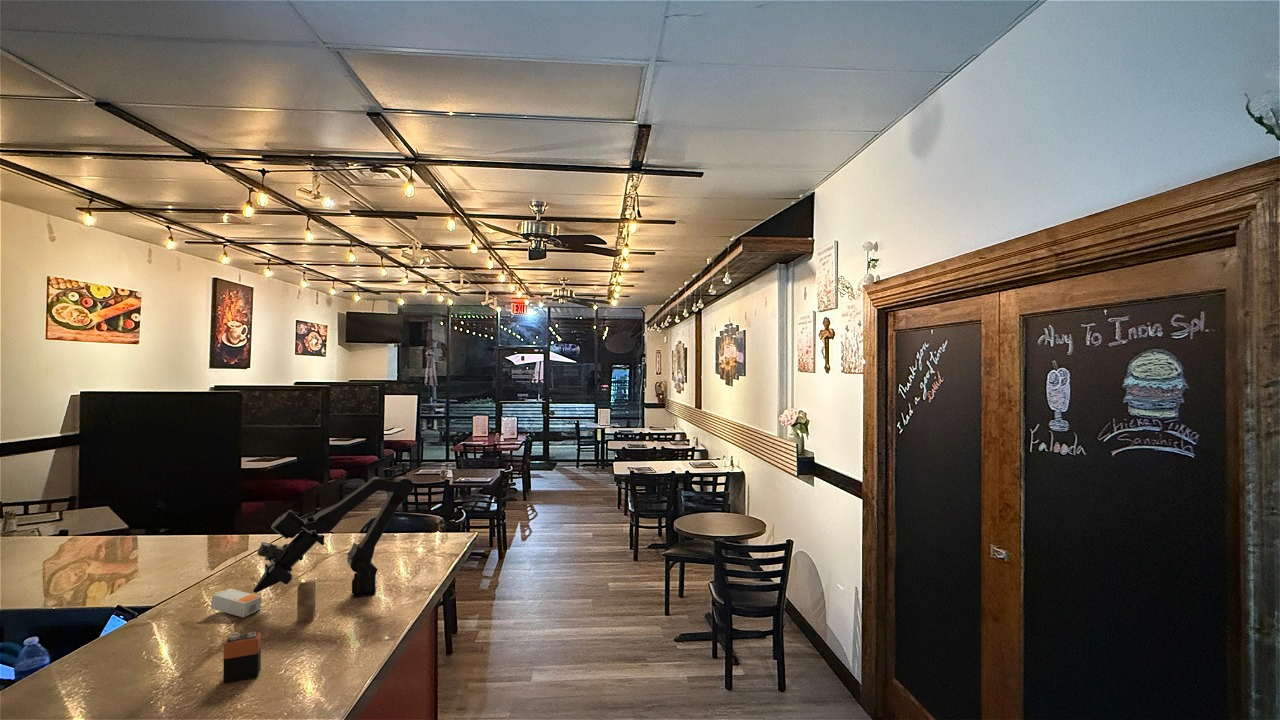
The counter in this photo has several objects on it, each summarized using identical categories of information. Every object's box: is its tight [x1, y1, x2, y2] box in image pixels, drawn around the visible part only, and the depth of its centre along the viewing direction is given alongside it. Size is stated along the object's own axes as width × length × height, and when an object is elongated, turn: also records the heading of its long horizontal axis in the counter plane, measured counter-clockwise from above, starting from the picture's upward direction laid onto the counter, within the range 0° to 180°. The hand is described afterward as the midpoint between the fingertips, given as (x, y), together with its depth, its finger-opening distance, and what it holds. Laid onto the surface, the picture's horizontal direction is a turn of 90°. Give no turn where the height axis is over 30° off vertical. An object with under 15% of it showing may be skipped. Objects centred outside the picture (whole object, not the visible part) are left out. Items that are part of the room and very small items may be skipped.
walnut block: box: [296, 581, 317, 624], centre depth 172 cm, size 4×4×10 cm
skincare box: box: [210, 588, 263, 618], centre depth 178 cm, size 6×4×12 cm
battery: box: [222, 631, 262, 684], centre depth 140 cm, size 4×7×10 cm, turn 114°
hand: (254, 591), depth 176 cm, fingers closed
